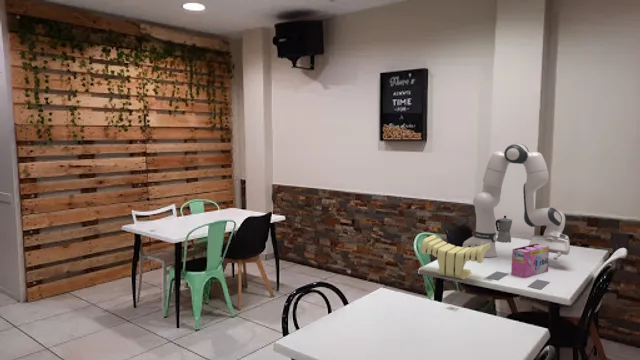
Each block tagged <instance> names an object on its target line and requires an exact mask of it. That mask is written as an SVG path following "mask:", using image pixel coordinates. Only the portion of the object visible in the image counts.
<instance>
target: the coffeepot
mask: <svg viewBox="0 0 640 360" xmlns="http://www.w3.org/2000/svg"><path fill="white" fill-rule="evenodd" d="M512 225H513V219H511V218H510V219H509V218H507V215H503V218H502V217H501V218H498V219H496V226H495V230H496V231H497V232H498V233H497V236H496V241H497V242H499V243H504V242H505V243H507V242H509V243H511V242H512V238H511V232H510V231H511V230H512V229H511V228H512Z"/></svg>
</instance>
